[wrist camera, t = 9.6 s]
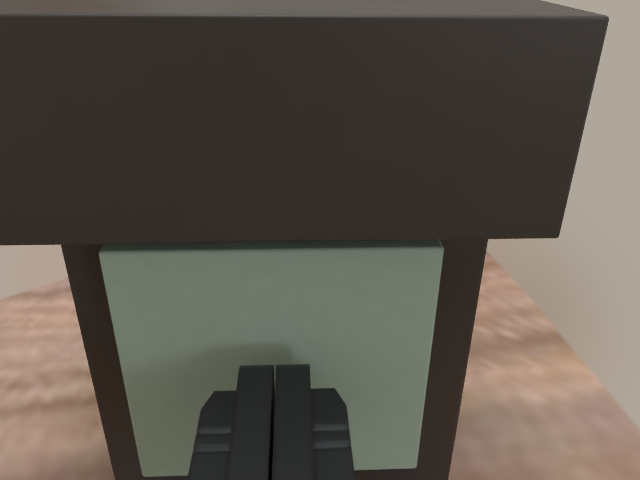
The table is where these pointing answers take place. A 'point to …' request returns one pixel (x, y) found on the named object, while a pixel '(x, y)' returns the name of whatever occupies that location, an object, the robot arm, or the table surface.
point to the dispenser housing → (290, 146)
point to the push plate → (274, 334)
